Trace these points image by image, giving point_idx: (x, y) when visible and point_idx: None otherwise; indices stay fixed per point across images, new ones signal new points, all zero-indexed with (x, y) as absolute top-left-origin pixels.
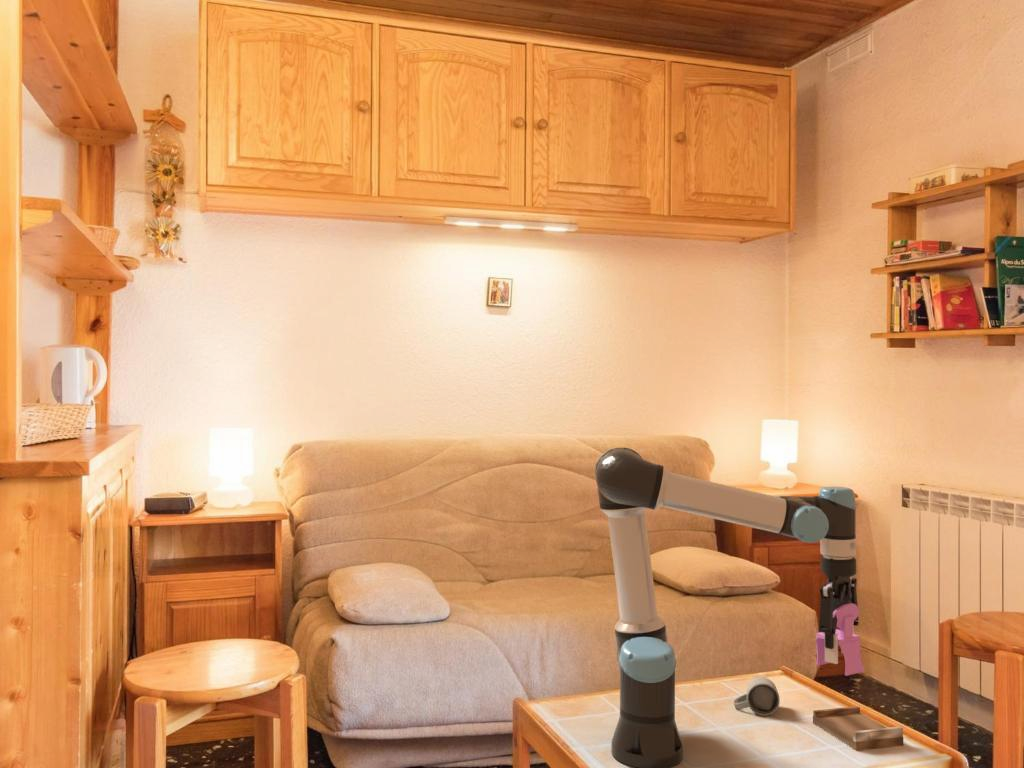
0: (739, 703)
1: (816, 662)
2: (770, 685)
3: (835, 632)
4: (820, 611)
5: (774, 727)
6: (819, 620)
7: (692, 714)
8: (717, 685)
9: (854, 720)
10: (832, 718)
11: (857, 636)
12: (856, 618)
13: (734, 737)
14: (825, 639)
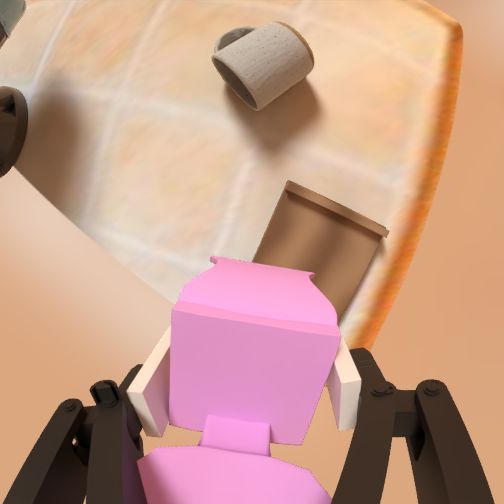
0: (215, 49)
1: (212, 256)
2: (245, 82)
3: (276, 365)
4: (25, 467)
5: (201, 146)
6: (43, 431)
7: (136, 32)
8: None
9: (333, 253)
10: (306, 218)
11: (290, 443)
12: (407, 437)
13: (106, 140)
14: (119, 387)
